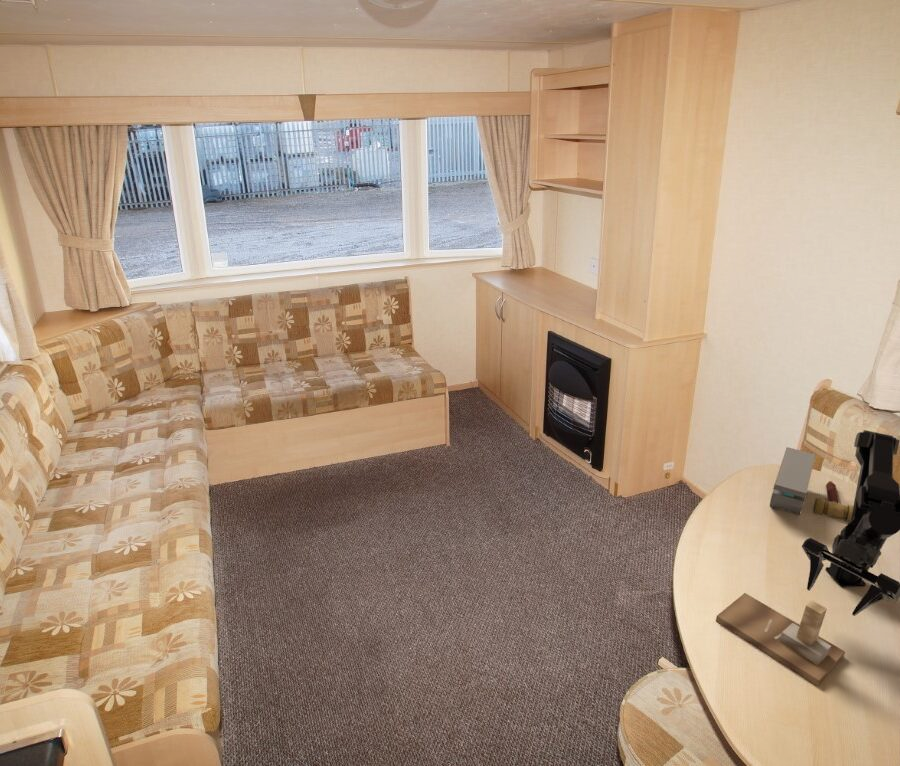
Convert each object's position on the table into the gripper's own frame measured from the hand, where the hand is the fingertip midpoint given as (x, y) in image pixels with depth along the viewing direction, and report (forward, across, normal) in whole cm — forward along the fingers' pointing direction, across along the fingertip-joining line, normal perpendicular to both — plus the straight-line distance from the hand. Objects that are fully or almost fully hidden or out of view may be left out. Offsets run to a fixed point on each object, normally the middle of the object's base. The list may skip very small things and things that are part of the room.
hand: (830, 602), depth 136 cm
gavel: (-33, -23, +48) cm, 62 cm away
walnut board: (+12, -5, +1) cm, 13 cm away
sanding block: (+11, 0, 0) cm, 11 cm away
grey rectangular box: (-25, -30, +40) cm, 56 cm away
